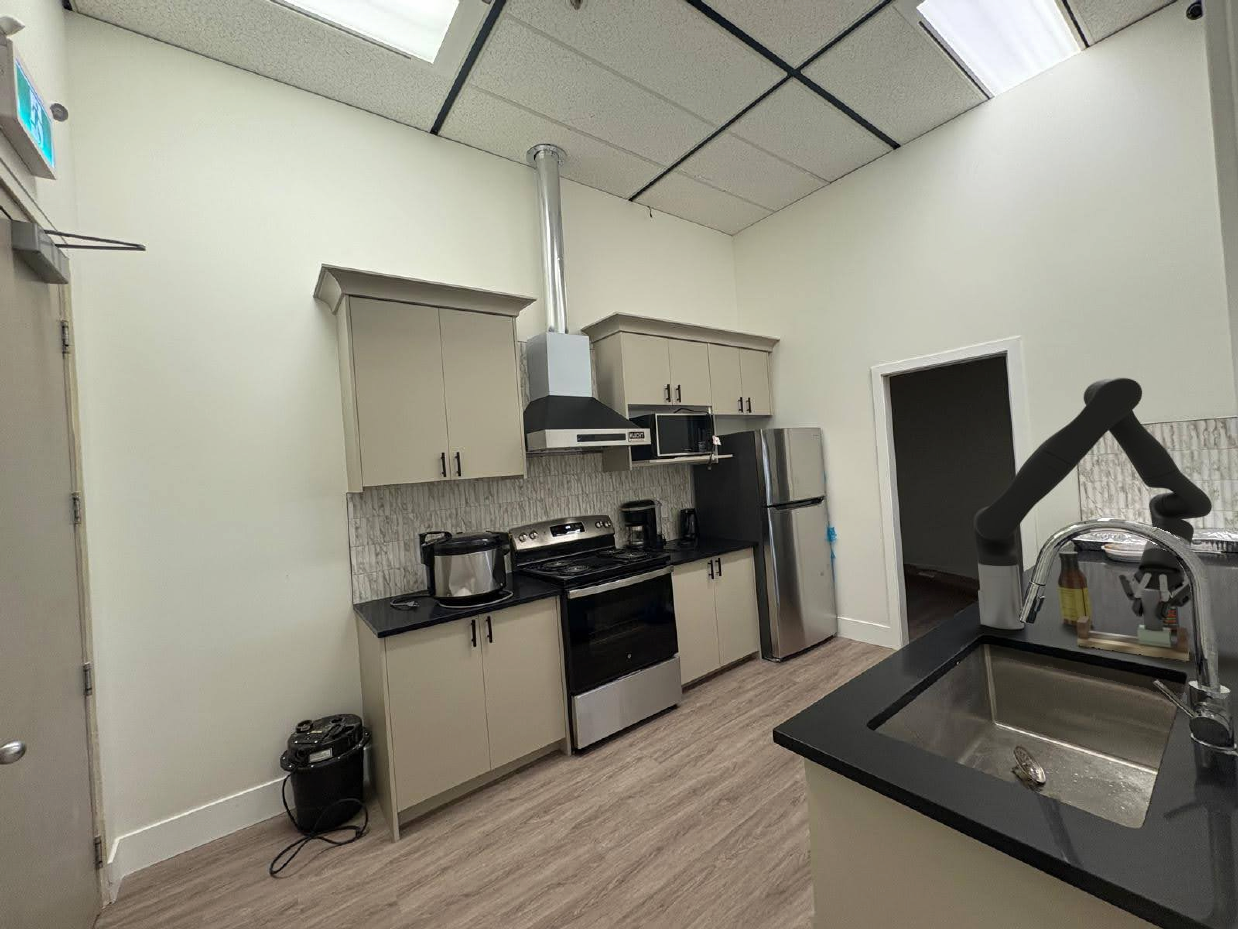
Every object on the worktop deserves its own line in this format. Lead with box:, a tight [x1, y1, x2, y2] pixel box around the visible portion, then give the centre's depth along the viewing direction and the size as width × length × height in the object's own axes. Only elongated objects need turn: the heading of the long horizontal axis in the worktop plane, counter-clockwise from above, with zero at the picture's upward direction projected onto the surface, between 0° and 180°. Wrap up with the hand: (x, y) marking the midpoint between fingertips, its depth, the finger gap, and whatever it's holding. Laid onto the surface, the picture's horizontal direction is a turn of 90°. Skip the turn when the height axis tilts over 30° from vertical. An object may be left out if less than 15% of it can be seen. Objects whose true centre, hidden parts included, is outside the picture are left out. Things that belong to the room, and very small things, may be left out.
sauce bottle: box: [1057, 550, 1093, 627], centre depth 141 cm, size 7×6×20 cm
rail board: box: [1076, 616, 1191, 662], centre depth 120 cm, size 18×9×6 cm, turn 41°
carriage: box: [1136, 589, 1172, 648], centre depth 117 cm, size 5×6×12 cm
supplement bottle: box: [1159, 593, 1181, 631], centre depth 134 cm, size 6×6×11 cm
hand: (1148, 616), depth 117 cm, fingers closed on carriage, 3 cm apart
